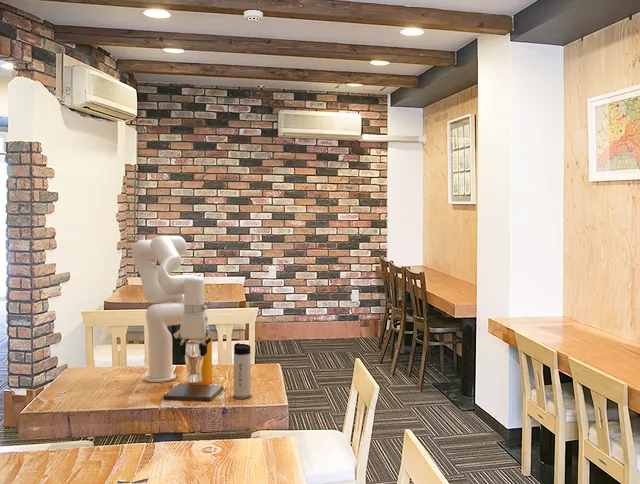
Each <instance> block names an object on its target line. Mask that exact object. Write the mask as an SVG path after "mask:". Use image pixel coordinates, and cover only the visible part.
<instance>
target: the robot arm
mask: <svg viewBox="0 0 640 484" xmlns="http://www.w3.org/2000/svg"><path fill="white" fill-rule="evenodd" d="M131 247H132V248H131V256H132V261H133V264H134V267H135V268H136V271H137V272H138V274H139V277H140V282H141V285H142V289H143V295H144V297H145V300H146V301H147V302H148V303H151V304H152V305H150V306H149V307H147V309H146V310H145V319H146V325H147V333H148V334H147V335H148V336H147V337H148V338H147V339H148V374H146V375H145V376H144V380H145V382H149V383H164V382H170V381H173V380H175V379H177V374H176V373H174V372H173V369H174V368H175V365H174V364H173V337H174V338H175V340H176V341H177V342H178V343H179V345H180V353H181V355H182V356H183V357H185V343H186V342H188V341H187V340H189V339H200V340H201V342H202V343H203V346H202V356H205V355H206V353H207V344H208V343H209V342H210V341H211V340H212V341H213V339H214V338H215V336H216V334H215V333H214V332H213V331H212V330H210V328H209V318H208V313H207V312H206V311H207V310H209V307H208V305H205V279H204V278H203V277H201V276H197V275H195V274H176V275H170V274H171V273H172V272H175V271H176V270H177V269H179V267H180V266H181V264H182V261H183V260H182V256H184V254H186V251H187V248H188V247H187V242H186V239H185V238H184V237H182V236H181V235H159V236H155V237H153V238H152V239H142V240H138V241H136V242H135V243H134V244H133V245H132V246H131ZM152 260H157V262H158V264H159V266H157V264H155V263H154V262H153V261H152ZM177 325H179V327H180V328H179V329H178V330H177V331H175V332H174V333H173V334H172V333H171V332H170V330H169V329H168V328H167V327H170V326H177ZM208 335H210V337H209V338H208V339H206V337H207V336H208Z"/></svg>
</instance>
